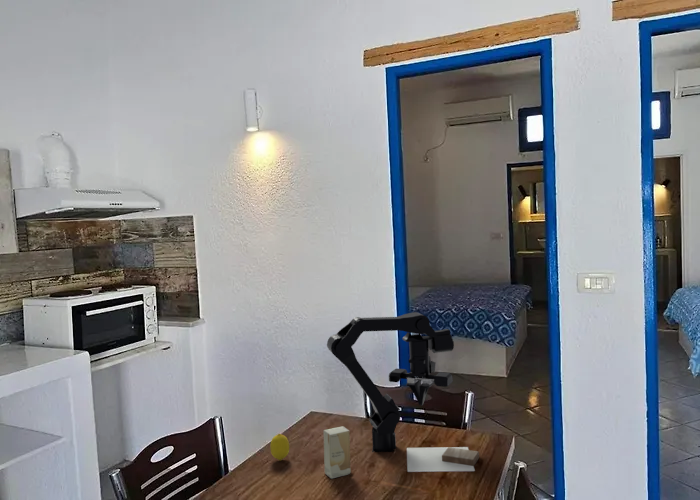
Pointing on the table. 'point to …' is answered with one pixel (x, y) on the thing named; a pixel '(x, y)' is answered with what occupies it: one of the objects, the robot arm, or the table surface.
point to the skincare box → (337, 452)
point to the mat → (432, 460)
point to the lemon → (279, 447)
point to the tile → (460, 456)
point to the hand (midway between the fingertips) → (421, 405)
